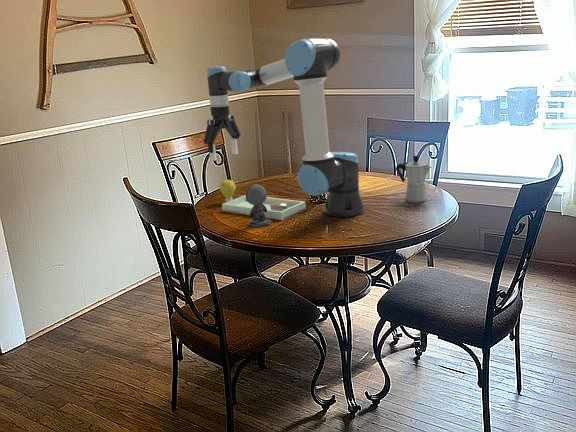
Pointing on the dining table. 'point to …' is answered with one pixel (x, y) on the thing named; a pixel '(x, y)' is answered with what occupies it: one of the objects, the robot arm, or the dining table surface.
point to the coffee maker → (414, 180)
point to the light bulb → (227, 189)
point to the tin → (279, 206)
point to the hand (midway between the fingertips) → (224, 157)
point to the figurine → (257, 206)
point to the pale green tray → (245, 207)
